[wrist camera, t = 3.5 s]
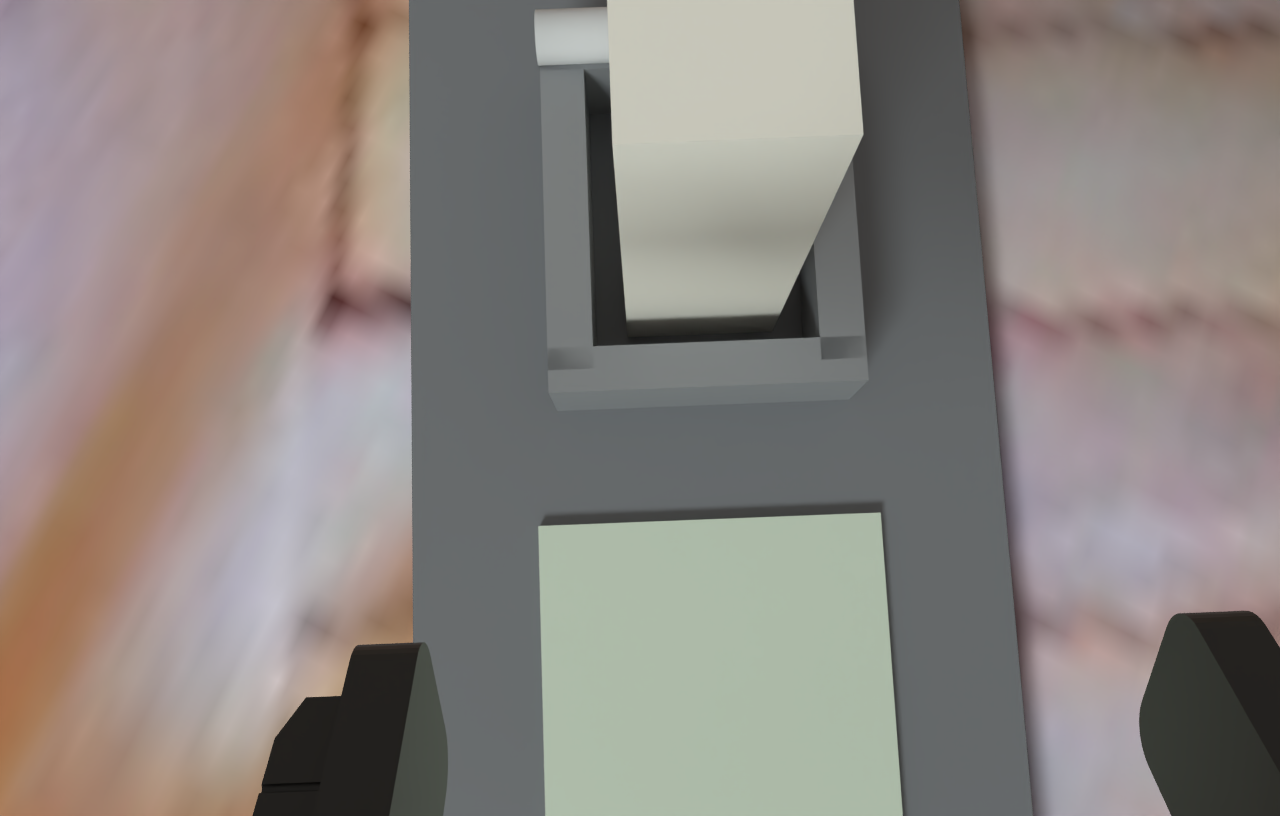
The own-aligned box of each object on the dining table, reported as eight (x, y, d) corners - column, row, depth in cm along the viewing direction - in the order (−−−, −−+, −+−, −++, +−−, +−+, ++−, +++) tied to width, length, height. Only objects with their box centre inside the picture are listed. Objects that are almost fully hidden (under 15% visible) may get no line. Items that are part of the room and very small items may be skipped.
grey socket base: (943, -14, 31) (999, -129, 26) (1028, 943, 27) (1112, 1020, 22) (418, 6, 31) (375, -105, 26) (425, 966, 27) (376, 1048, 22)
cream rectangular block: (760, 135, 29) (839, -190, 17) (772, 331, 28) (863, 134, 16) (620, 141, 29) (600, -180, 17) (627, 337, 28) (612, 144, 16)
